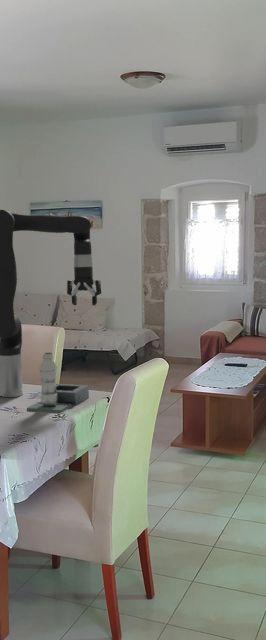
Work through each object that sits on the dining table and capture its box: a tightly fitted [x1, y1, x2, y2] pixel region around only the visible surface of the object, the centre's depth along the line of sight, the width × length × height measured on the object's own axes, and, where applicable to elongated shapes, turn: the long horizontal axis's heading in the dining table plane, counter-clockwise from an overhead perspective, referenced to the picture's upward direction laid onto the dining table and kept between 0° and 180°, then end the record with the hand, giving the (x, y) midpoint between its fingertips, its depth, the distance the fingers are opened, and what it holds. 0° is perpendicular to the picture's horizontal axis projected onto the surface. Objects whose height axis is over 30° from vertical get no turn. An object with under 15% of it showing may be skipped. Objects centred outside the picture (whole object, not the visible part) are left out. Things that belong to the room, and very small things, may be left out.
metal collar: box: [56, 383, 90, 406], centre depth 256 cm, size 14×13×5 cm
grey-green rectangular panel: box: [26, 401, 72, 414], centre depth 244 cm, size 14×9×1 cm, turn 71°
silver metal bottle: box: [39, 352, 58, 406], centre depth 243 cm, size 6×7×20 cm
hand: (84, 305), depth 267 cm, fingers open, 8 cm apart
